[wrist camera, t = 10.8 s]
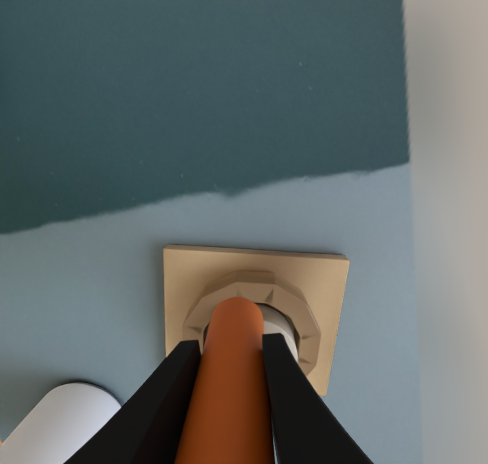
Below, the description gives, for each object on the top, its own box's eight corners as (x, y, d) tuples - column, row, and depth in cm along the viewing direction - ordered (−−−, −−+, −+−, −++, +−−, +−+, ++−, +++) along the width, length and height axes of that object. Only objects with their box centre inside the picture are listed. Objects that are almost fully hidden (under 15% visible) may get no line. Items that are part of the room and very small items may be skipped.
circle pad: (297, 305, 14) (303, 322, 13) (288, 377, 16) (292, 400, 14) (209, 300, 14) (205, 315, 13) (207, 372, 16) (203, 394, 14)
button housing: (344, 254, 16) (362, 271, 13) (322, 385, 18) (333, 419, 16) (167, 243, 16) (152, 258, 13) (170, 375, 18) (158, 407, 16)
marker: (261, 293, 10) (315, 924, 2) (266, 340, 11) (326, 991, 2) (206, 298, 11) (6, 912, 2) (214, 344, 11) (89, 979, 2)
